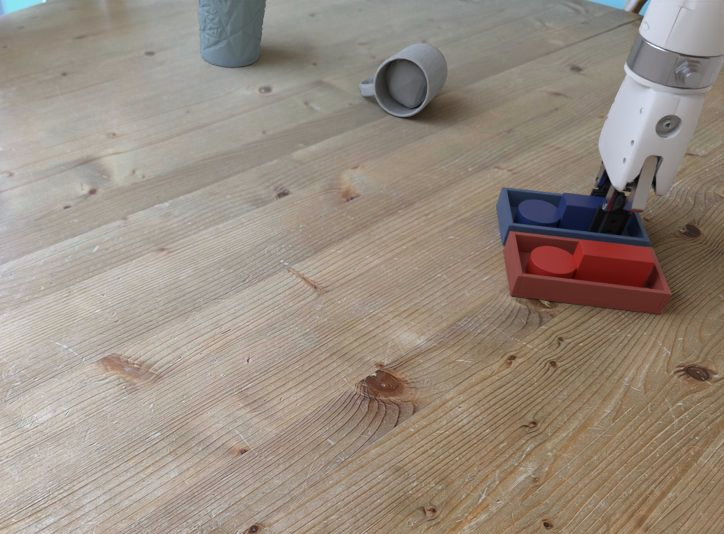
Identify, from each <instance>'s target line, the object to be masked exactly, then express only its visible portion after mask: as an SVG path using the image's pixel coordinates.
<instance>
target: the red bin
mask: <svg viewBox="0 0 724 534" xmlns="http://www.w3.org/2000/svg"><path fill="white" fill-rule="evenodd" d="M579 240H583V239H574V238H566V237H557V236H549V235H540V234H532V233H523V232H514V231H510V232H509V235H508V238H507V241H506V244H505V245H504V248H503V258H504V264H505V270H506V276H507V282H508V289H509V294H510V295H509V296H510V297H514V298H523V299H531V300H532V299H533V300H539V301H541V300H542V301H549V302H557V303H564V304H574V305H580V306H589V307H598V308H605V309H612V310H622V311H630V312H637V313H646V314H655V315H661V314H662V313H663V311H664V309H665V308H666V305H667V304H668V302H669V300H670V299H671V297H672V295H673V293H672V291H671V288H670V286H669V284H668V281H667V279H666V277H665V274H664V272H663V271H664V270H663V269H662V266H661V264H660V262H659V259H658V257H657V254H656V252H655V249H654V248H653V247H651V246H648V247H647V248H649V250H650V252H651V255H652V257H653V260H654V262H655V263H654V265H653V267H652V269H651V271H650V273H649V274H648V276H647V278H646V280H645V282H644V284H643V286H642V288H640V287H632V286H624V285H615V284H607V283H599V282H590V281H582V280H574V279H566V278H557V277H549V276H541V275H532V274H527V273H526V265H527V262H528V260H529V257H530V254H531V252H532V251H533V250H534V249H535V248H537V247H541V246H553V247H557V248H560V249H563V250H565V251H567V252H569V253H570V254H571V255H572V256H573V254H574V252H575V250H576V247H577V245H578V242H579ZM587 241H591V240H587ZM595 242H600V241H595ZM604 243H609V242H604ZM613 244H617V243H613ZM621 245H626V244H621ZM630 246H634V245H630ZM638 247H643V246H638Z"/></svg>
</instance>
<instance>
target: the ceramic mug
mask: <svg viewBox="0 0 724 534" xmlns="http://www.w3.org/2000/svg"><path fill="white" fill-rule="evenodd" d="M448 71H449V70H448V63H447V60H446V57H445V55H444V54H443V53H442V51H441V50H440V49H438V48H437V47H435V46H434V45H432V44H429V43H423V42H421V43H414V44H411V45H409V46H406V47H404V48H403V49H401V50H400V51H399V52H396V53H395V54H394V55H392V56H389V57H388V58H387V59H386V60H384V61H383V62H382V63H381V64H380V65H379V67H378V68H377V70H376V71H375V73H374V75H372V76H370V77H367V78H365V79H363V80H362V81H361V82H359V85H358V87H359V92H360V94H361V96H362V97H366V98H367V97H375V100H376V101H377V104H379V106H380V107H381V108H382V109H383V110H384V111H385V112H387V113H388V114H390V115H392V116H395V117H397V118H407V117H412V116H415V115H417V114H418V113H420V112H421V111H422V110H423V109H425V107H426V106H427V105H428V104H429V103H430V102H431V101H432V100H433V99H434V98H435V97H436V96H437V95H438V94H439V93H440V91H441V90H442V89H443V88H444V85H445V84H446V81H447V78H448Z"/></svg>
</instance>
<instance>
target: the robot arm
mask: <svg viewBox="0 0 724 534" xmlns="http://www.w3.org/2000/svg"><path fill="white" fill-rule="evenodd" d="M634 38H635V39H633V40H634V41H633V43H632V45H631V48H630V50H629V53H628V56H627V57H626V60H625V63H624V65H623V71H624V73H625V76H624V79H623V80H622V83H621V85H620V86H619V89H618V90H617V93H616V95H615V98H614V100H613V101H612V105H611V106H610V109H609V111H608V113H607V115H606V118H605V121H604V123H603V126H602V129H601V132H600V134H599V139H598V152H599V154H600V157H601V166H600V167H599V170H598V172H597V175H596V177H595V179H594V183H593V185H594V188H592V190H591V192H590V194H589V195H590V196H598V197H606V198H605V201H604V203H603V206H600V205H598V208H597V210H596V212H595V215H594V217H593V219H592V222H591V224H590V226H589V228H588V231H587V232H594V233H603V234H611V235H620V236H621V234H622V232H623V230H624V228H625V226H626V224H627V222H628V219H629V217H630V215H632V214H633V213H634V212H639V214H642V213H644V212H645V209H646V206H647V202H648V198H649V195H650V191H651V188H652V190H653V192H654V194H655V195H657V196H658V197H664V196H665V195H667V193H668V192H669V190H670V189H671V187H672V184H673V182H674V180H675V178H676V175H677V173H678V172H679V169H680V167H681V164H682V162H683V161H684V158H685V155H686V153H687V151H688V148H689V146H690V143H691V142H692V139H693V136H694V133H695V131H696V128H697V125H698V122H699V119H700V116H701V114H702V110H703V107H704V104H705V100H706V93H707V92H709V91H711V89H712V88H713V86H714V85H715V82H716V79H717V78H718V76H719V74H720V72H721V70H722V67H723V65H724V0H650V1H649V3H648V6H647V8H646V10H645V13H644V15H643V17H642V21H641V24H640V26H639V28H638V31H637V33H636V36H635V37H634ZM626 192H627V193H629V195H626Z"/></svg>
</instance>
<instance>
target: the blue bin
mask: <svg viewBox="0 0 724 534" xmlns="http://www.w3.org/2000/svg"><path fill="white" fill-rule="evenodd" d="M562 195H563V193H559V192H552V191H543V190H542V191H541V190H535V189H533V190H532V189H524V188H514V187H506V186H502V187H501V189H500V192H499V196H498V199H497V200H496V201H497V202H496V204H495V209H496V215H497V220H498V228H499V233H500V239H501V245H502V246H505V244H506V241H507V238H508V235H509V232H510V231H514V232H523V233H532V234H540V235H549V236H557V237H566V238H574V239H583V240H591V241H600V242H609V243H617V244H626V245H634V246H643V247H649V246H650V244H651V239H650V237H649V234H648V232H647V230H646V227H645V224H644V222H643V220H642V217H641V215H640V213H639V212H634V213H633V214H632V215H631V216H630V218H629V220H628V222H627V224H626V226H625V229H624V231H623V233H622V235H621V236H620V235H611V234H603V233H594V232H585V231H577V230H568V229H560V228H551V227H542V226H534V225H525V224H517V223H514V218H515V215H516V212H517V209H518V206H519V204H520V203H521V202H523V201H525V200H531V199H535V200H542V201H545V202H548V203H550V204H552V205H554V206H555V207H557V208H558V205H559V203H560V200H561V198H562Z"/></svg>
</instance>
